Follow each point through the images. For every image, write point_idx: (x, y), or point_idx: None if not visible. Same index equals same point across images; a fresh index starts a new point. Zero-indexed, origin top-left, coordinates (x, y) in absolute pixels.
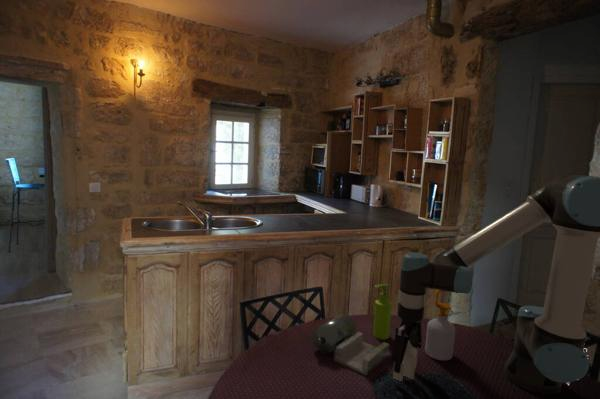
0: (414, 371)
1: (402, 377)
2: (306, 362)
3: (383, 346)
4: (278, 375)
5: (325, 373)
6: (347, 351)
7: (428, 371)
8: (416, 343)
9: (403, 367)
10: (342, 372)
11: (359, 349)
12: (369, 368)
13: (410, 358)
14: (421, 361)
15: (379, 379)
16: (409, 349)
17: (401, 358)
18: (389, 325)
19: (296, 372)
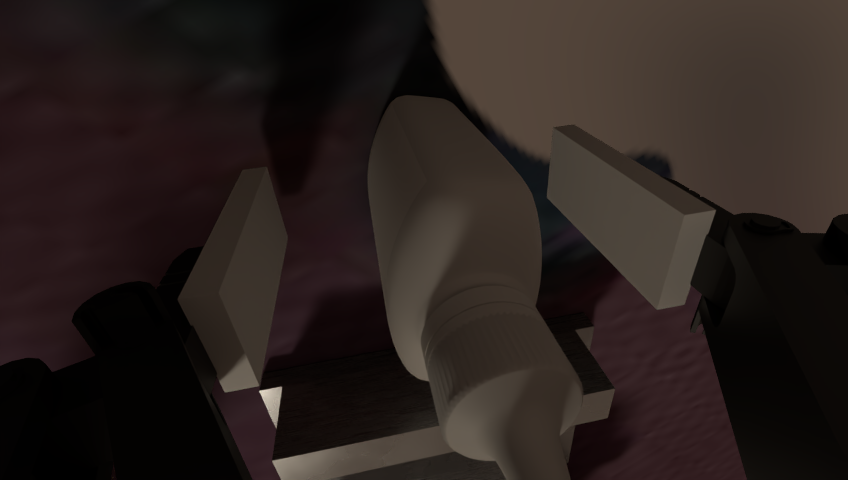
0: (413, 116)
1: (580, 141)
2: (641, 472)
3: (347, 455)
4: None
5: (673, 404)
6: (498, 477)
7: (127, 72)
8: (198, 381)
9: (635, 183)
10: (624, 380)
11: (402, 468)
12: (558, 342)
13: (534, 214)
14: (54, 207)
15: (564, 253)
16: (528, 328)
17: (810, 255)
18: None
19: (722, 445)
